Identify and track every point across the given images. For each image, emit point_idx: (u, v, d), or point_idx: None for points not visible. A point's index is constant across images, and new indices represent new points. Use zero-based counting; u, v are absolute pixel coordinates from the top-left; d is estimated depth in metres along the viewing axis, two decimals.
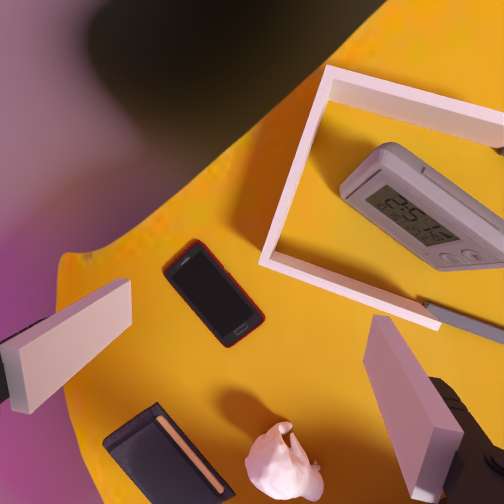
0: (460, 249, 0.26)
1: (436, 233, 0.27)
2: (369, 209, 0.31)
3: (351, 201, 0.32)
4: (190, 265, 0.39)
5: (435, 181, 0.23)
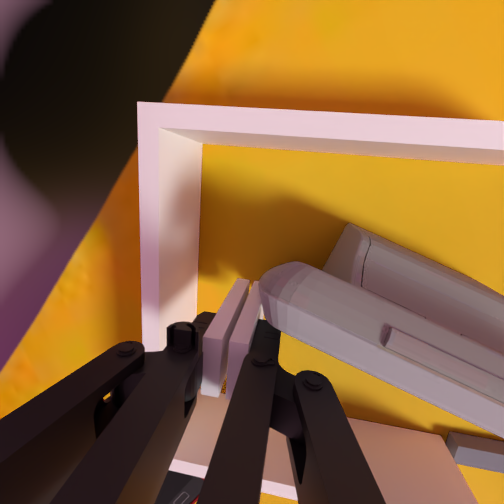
0: None
1: None
2: None
3: None
4: None
5: (423, 362, 0.09)
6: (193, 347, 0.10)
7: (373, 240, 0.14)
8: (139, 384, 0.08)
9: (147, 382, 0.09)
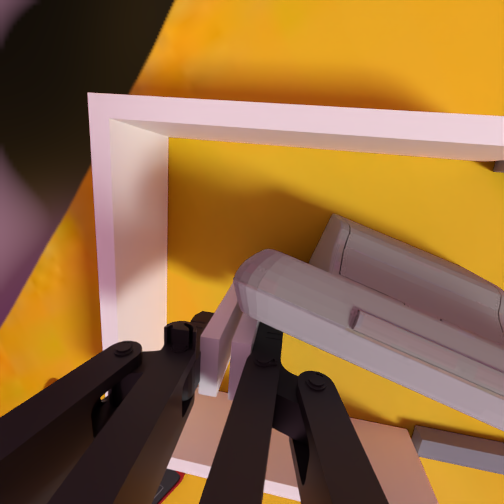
0: None
1: None
2: None
3: None
4: None
5: (392, 344, 0.09)
6: (190, 346, 0.10)
7: (353, 228, 0.14)
8: (136, 384, 0.08)
9: (144, 382, 0.09)
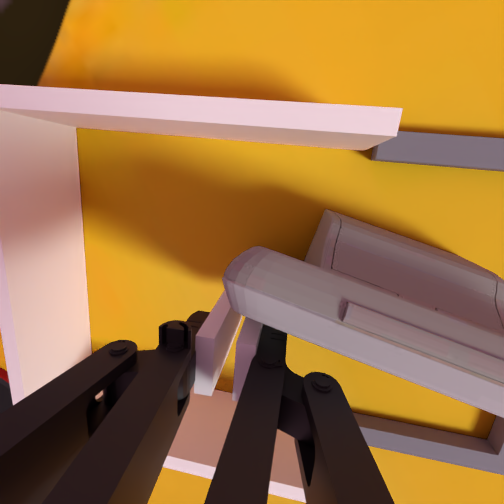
0: None
1: None
2: None
3: None
4: None
5: (382, 334, 0.09)
6: (186, 346, 0.10)
7: (344, 222, 0.14)
8: (132, 383, 0.08)
9: (140, 381, 0.09)
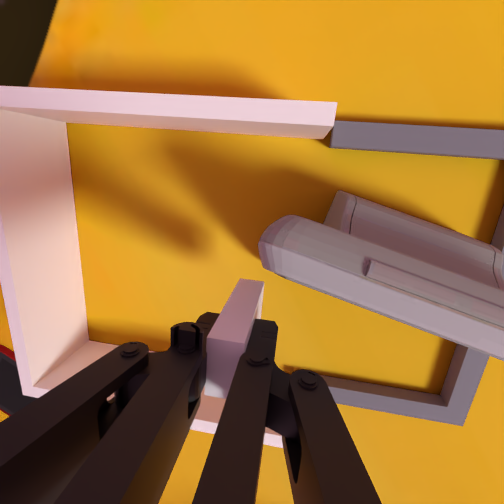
0: None
1: None
2: None
3: None
4: (0, 377, 0.29)
5: (399, 286, 0.10)
6: (197, 348, 0.10)
7: (359, 199, 0.16)
8: (143, 385, 0.08)
9: (151, 383, 0.09)
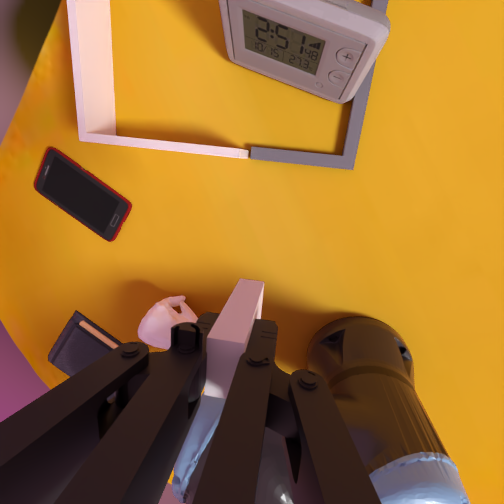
0: (333, 56, 0.27)
1: (309, 48, 0.27)
2: (255, 58, 0.31)
3: (239, 59, 0.32)
4: (52, 173, 0.42)
5: None
6: (197, 348, 0.10)
7: None
8: (143, 384, 0.08)
9: (151, 383, 0.09)
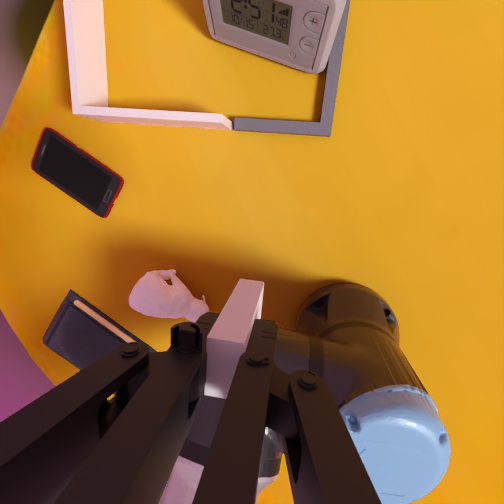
0: (301, 21, 0.29)
1: (279, 16, 0.30)
2: (233, 32, 0.34)
3: (219, 34, 0.35)
4: (48, 152, 0.45)
5: None
6: (197, 348, 0.10)
7: None
8: (143, 384, 0.08)
9: (151, 383, 0.09)
